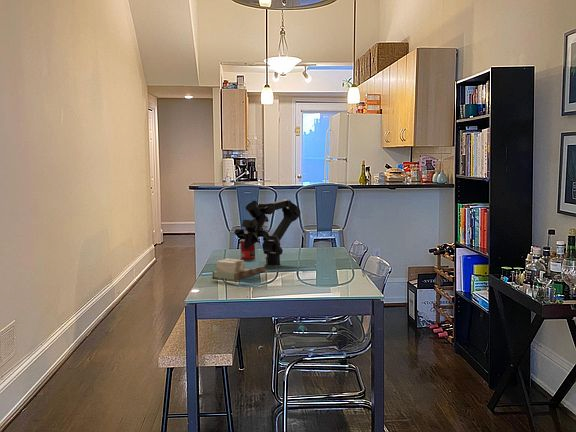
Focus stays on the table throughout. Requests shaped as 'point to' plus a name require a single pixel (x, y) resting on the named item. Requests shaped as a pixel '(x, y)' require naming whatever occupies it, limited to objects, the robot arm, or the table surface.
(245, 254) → the canned food
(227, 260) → the birch block
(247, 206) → the robot arm
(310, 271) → the table surface
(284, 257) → the table surface
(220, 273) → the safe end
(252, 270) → the channel
